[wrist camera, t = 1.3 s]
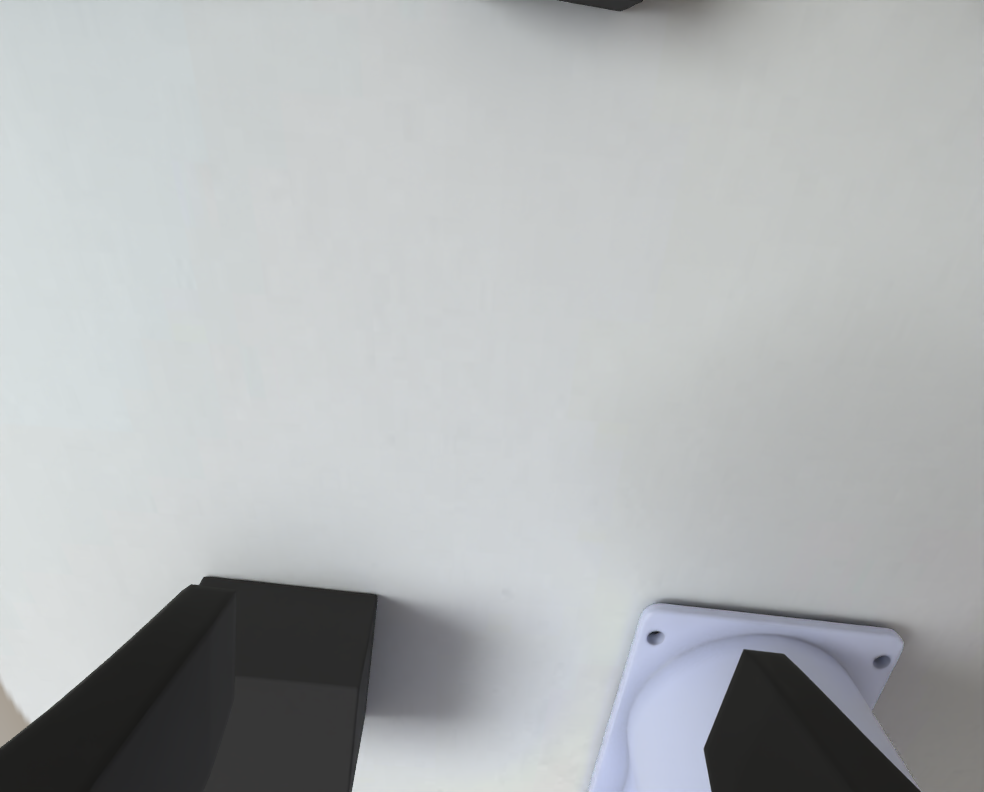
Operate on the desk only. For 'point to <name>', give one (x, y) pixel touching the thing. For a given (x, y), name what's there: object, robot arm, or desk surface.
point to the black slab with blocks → (607, 3)
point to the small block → (295, 689)
